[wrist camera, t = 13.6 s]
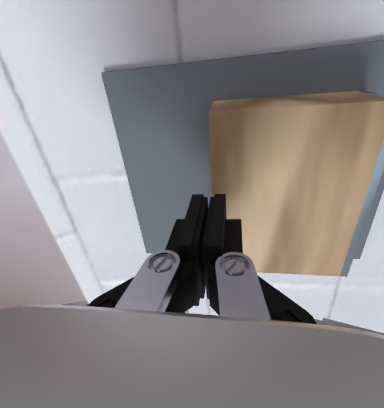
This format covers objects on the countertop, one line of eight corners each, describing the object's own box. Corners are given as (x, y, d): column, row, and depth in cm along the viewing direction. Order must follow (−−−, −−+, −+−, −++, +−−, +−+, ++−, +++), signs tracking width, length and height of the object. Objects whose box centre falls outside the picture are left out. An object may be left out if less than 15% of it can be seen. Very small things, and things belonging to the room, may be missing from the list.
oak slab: (213, 100, 14) (365, 90, 13) (218, 236, 19) (327, 239, 18) (208, 112, 11) (407, 99, 10) (215, 270, 16) (347, 276, 15)
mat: (430, 34, 11) (436, 34, 11) (357, 255, 18) (359, 258, 18) (104, 72, 14) (101, 72, 14) (147, 249, 21) (146, 252, 21)
